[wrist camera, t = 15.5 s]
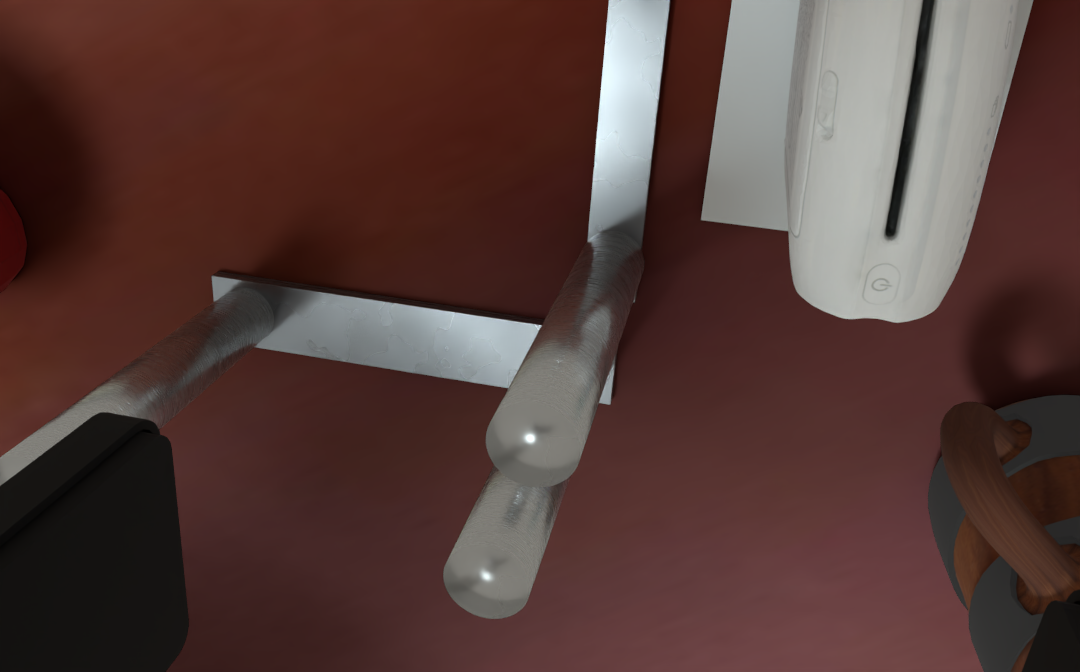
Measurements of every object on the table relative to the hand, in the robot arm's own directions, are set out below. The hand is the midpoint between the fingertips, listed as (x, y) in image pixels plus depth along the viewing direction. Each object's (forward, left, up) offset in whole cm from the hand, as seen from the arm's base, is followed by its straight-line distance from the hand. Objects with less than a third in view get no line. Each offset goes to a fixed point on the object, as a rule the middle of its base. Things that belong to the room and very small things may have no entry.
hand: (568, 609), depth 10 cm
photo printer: (+3, -5, -25) cm, 26 cm away
